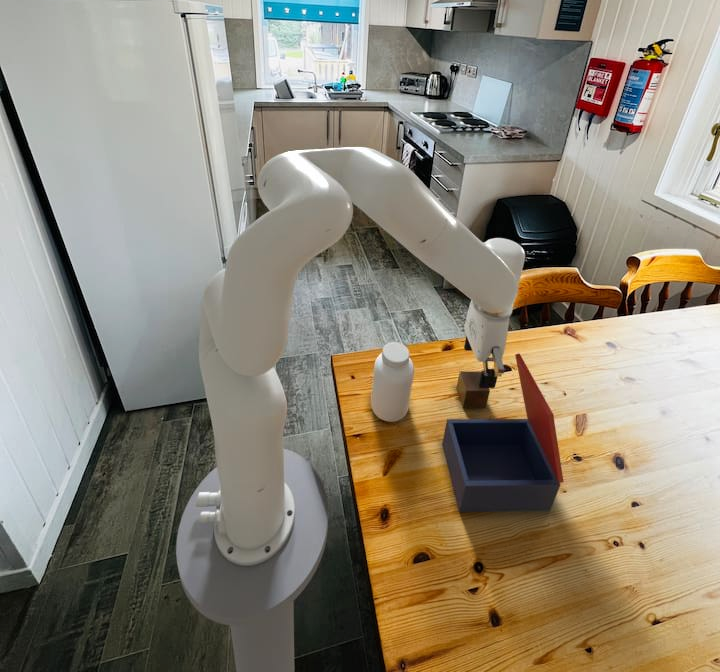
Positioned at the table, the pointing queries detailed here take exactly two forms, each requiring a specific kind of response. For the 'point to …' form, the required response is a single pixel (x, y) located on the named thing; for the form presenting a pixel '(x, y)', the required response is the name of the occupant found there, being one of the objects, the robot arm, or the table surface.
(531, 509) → the box
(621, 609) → the table surface
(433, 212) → the robot arm
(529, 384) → the lunchbox lid
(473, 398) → the block
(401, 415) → the pill bottle
